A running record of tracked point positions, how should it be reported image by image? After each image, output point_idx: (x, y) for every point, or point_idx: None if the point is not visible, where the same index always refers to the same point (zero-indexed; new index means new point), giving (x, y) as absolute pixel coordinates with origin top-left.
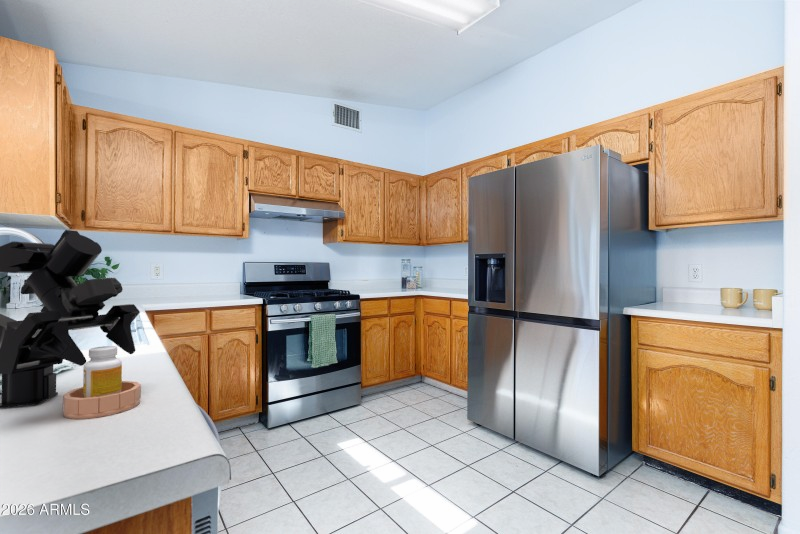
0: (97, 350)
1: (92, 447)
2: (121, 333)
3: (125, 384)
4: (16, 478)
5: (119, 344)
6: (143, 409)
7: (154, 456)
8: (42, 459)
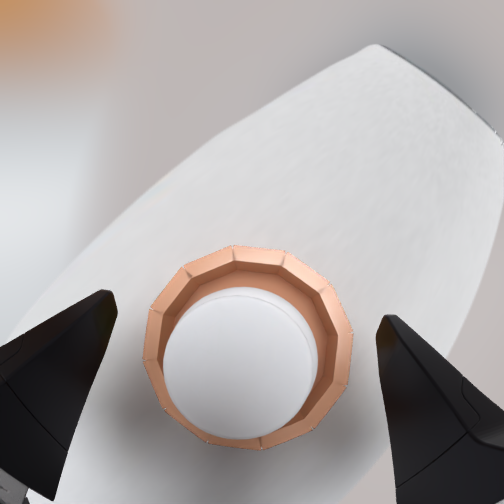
0: (307, 344)
1: (428, 174)
2: (36, 393)
3: (160, 344)
4: (497, 199)
5: (80, 395)
6: (248, 225)
7: (410, 87)
8: (470, 214)
